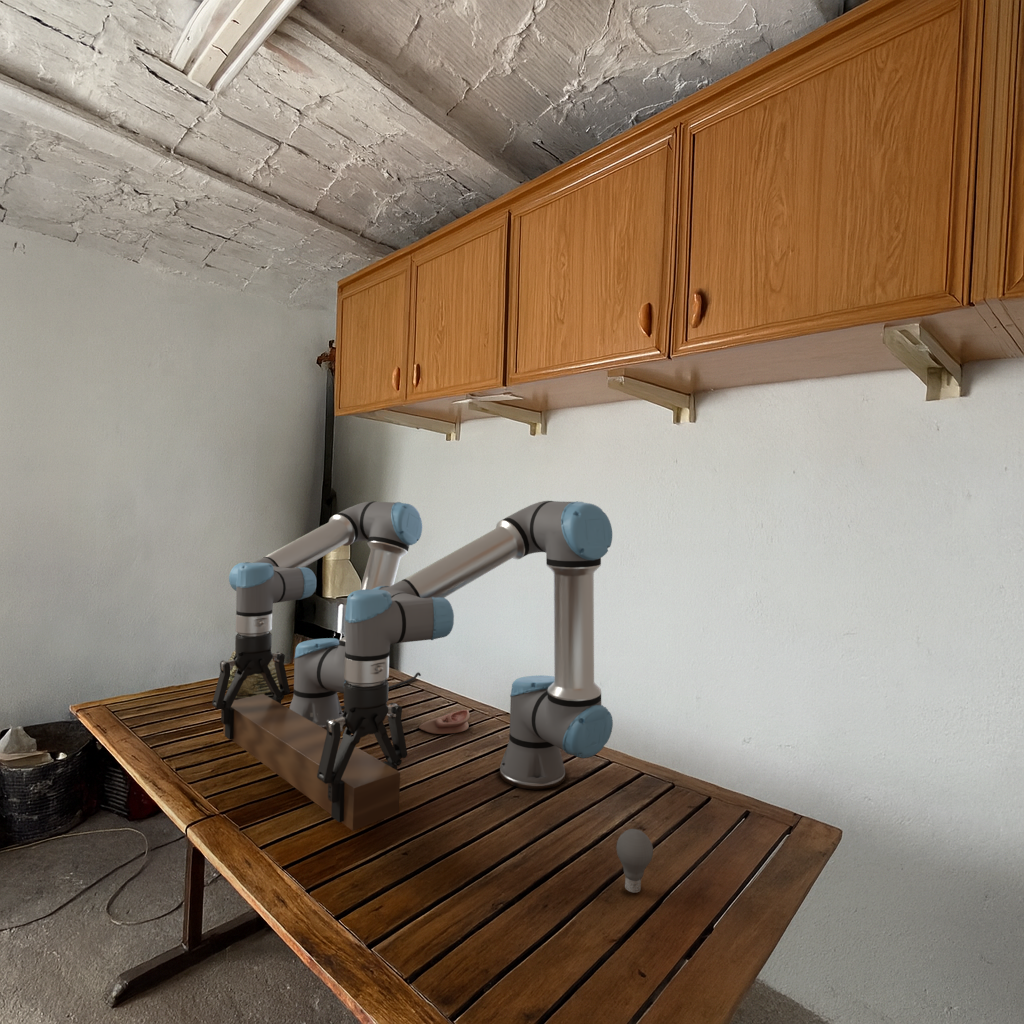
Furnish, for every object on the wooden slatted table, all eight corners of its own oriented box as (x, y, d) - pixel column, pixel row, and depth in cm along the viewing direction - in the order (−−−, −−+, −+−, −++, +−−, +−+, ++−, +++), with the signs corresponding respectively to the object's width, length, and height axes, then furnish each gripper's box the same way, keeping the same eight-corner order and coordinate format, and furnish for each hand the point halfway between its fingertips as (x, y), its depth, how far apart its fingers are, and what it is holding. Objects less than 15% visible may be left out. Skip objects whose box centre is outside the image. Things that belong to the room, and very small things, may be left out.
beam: (223, 733, 142) (223, 702, 142) (263, 724, 148) (263, 694, 148) (352, 831, 103) (353, 788, 103) (399, 812, 110) (400, 772, 110)
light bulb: (610, 879, 108) (613, 822, 108) (644, 879, 109) (647, 822, 109) (619, 902, 102) (622, 840, 102) (655, 901, 103) (658, 840, 103)
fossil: (218, 695, 195) (220, 647, 195) (278, 685, 208) (279, 640, 207) (228, 703, 189) (230, 653, 188) (289, 692, 201) (290, 645, 201)
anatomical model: (415, 716, 173) (429, 704, 184) (414, 731, 173) (428, 717, 184) (462, 722, 170) (473, 709, 181) (461, 737, 170) (472, 722, 181)
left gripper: (209, 642, 131) (206, 750, 132) (307, 629, 146) (305, 725, 147) (196, 636, 136) (193, 739, 137) (292, 623, 152) (290, 716, 152)
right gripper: (319, 698, 99) (315, 840, 99) (430, 674, 114) (426, 797, 115) (296, 687, 104) (293, 822, 105) (405, 665, 119) (402, 782, 120)
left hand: (251, 732), depth 142 cm, fingers closed on beam, 9 cm apart
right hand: (362, 809), depth 110 cm, fingers closed on beam, 9 cm apart
